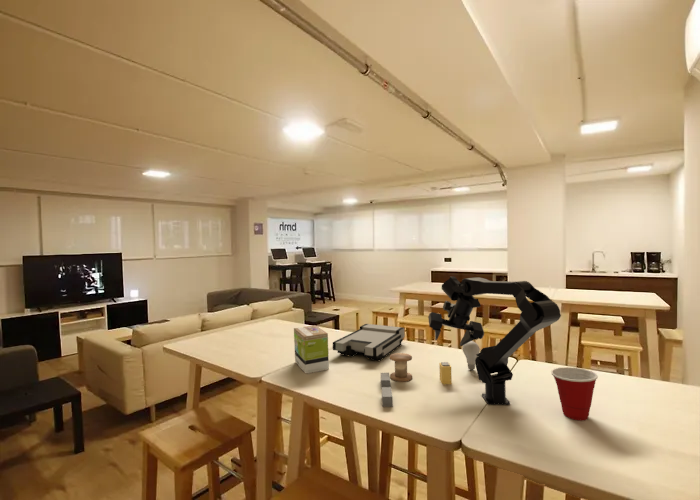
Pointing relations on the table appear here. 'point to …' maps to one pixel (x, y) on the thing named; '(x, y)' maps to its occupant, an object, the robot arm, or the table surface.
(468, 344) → the lightbulb
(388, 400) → the grey square bar
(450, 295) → the robot arm
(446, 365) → the tab block
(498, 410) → the table surface
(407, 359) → the bobbin
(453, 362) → the table surface
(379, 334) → the game console
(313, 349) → the tea box
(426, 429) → the table surface
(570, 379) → the plastic cup
